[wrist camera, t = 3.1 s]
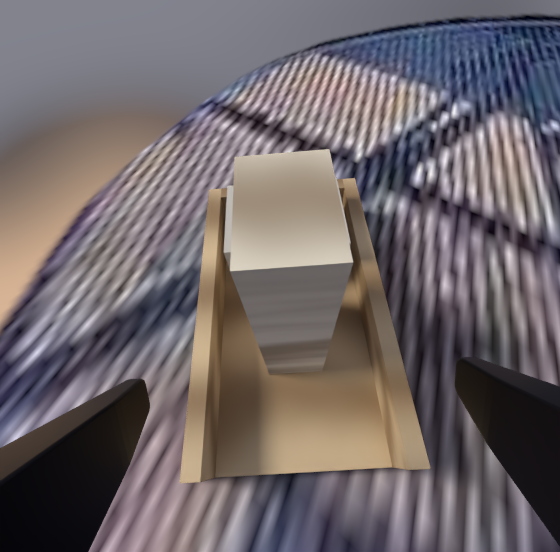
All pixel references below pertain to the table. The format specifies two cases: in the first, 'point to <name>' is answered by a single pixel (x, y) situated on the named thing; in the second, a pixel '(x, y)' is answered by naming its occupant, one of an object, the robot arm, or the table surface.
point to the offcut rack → (297, 378)
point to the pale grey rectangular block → (289, 255)
